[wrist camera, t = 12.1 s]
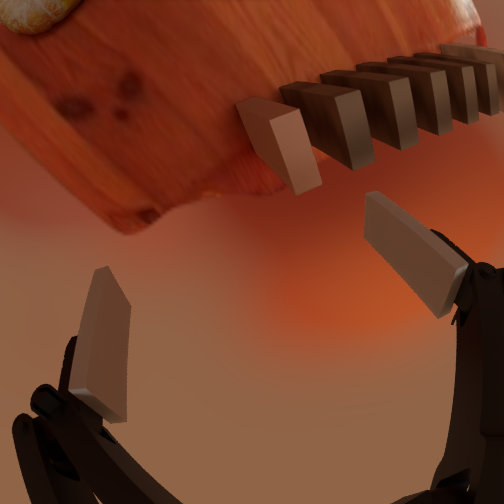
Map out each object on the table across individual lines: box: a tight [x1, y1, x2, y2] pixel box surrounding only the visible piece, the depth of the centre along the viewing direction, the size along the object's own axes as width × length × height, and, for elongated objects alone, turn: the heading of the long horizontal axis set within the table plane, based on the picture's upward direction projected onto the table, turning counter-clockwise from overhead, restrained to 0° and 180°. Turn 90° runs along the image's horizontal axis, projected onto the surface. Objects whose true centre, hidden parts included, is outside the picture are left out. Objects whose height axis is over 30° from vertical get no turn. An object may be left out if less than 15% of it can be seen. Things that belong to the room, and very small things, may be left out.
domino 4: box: [356, 62, 453, 136], centre depth 24 cm, size 6×2×12 cm, turn 22°
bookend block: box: [440, 43, 504, 112], centre depth 23 cm, size 8×5×13 cm, turn 22°
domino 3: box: [320, 70, 419, 151], centre depth 24 cm, size 6×2×12 cm, turn 22°
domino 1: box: [235, 96, 322, 196], centre depth 24 cm, size 6×2×12 cm, turn 22°
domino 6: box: [414, 53, 499, 116], centre depth 23 cm, size 6×2×12 cm, turn 22°
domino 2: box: [279, 81, 375, 171], centre depth 24 cm, size 6×2×12 cm, turn 22°
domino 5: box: [387, 56, 479, 124], centre depth 23 cm, size 6×2×12 cm, turn 22°
